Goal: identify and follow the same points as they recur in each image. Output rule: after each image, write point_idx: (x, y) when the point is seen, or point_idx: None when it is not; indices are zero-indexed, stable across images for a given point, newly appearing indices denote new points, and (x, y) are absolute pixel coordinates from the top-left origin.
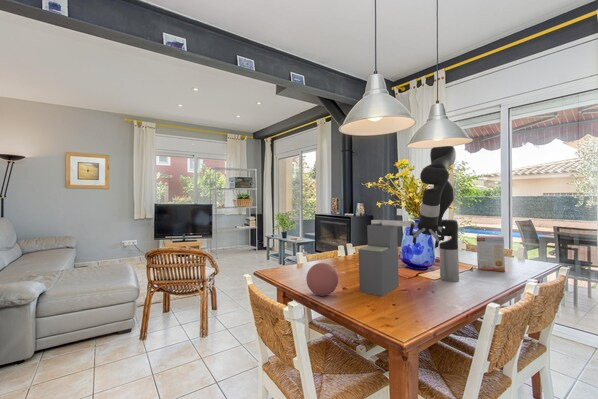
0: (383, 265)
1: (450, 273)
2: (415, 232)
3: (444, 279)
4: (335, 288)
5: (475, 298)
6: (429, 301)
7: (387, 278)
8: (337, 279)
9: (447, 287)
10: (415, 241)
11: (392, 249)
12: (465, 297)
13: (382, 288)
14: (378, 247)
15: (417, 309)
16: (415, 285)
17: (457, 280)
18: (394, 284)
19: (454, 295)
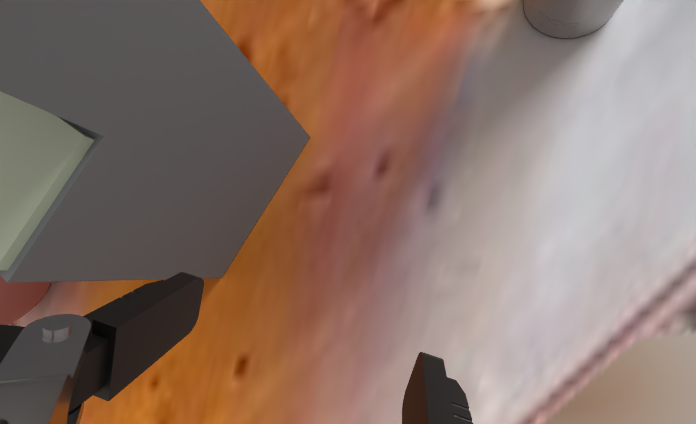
0: (127, 259)
1: (583, 6)
2: (9, 374)
3: (538, 24)
4: (41, 289)
5: (610, 276)
6: (385, 325)
7: (212, 226)
8: (4, 290)
9: (520, 127)
10: (154, 354)
11: (144, 100)
12: (563, 264)
13: (201, 277)
14: (21, 138)
15: (313, 420)
16: (381, 118)
17: (604, 23)
18: (278, 170)
19: (519, 240)
